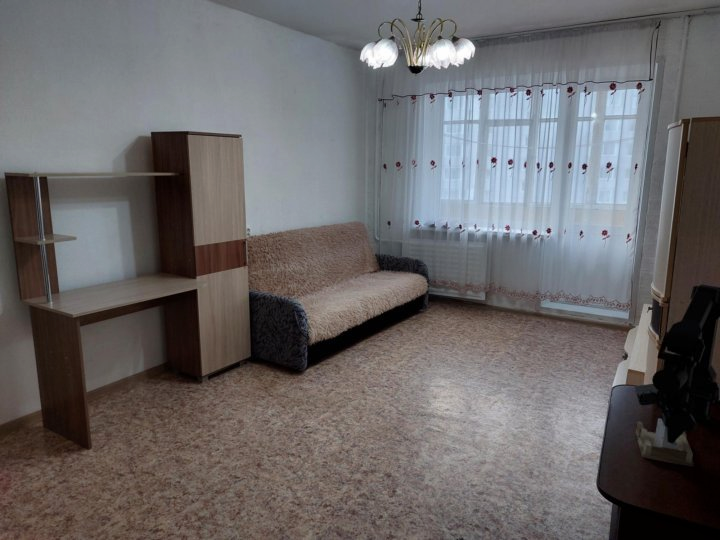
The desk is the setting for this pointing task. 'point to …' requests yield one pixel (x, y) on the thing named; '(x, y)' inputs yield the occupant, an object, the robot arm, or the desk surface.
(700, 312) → the robot arm
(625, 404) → the desk surface
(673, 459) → the slotted track
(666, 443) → the white wedge bracket
